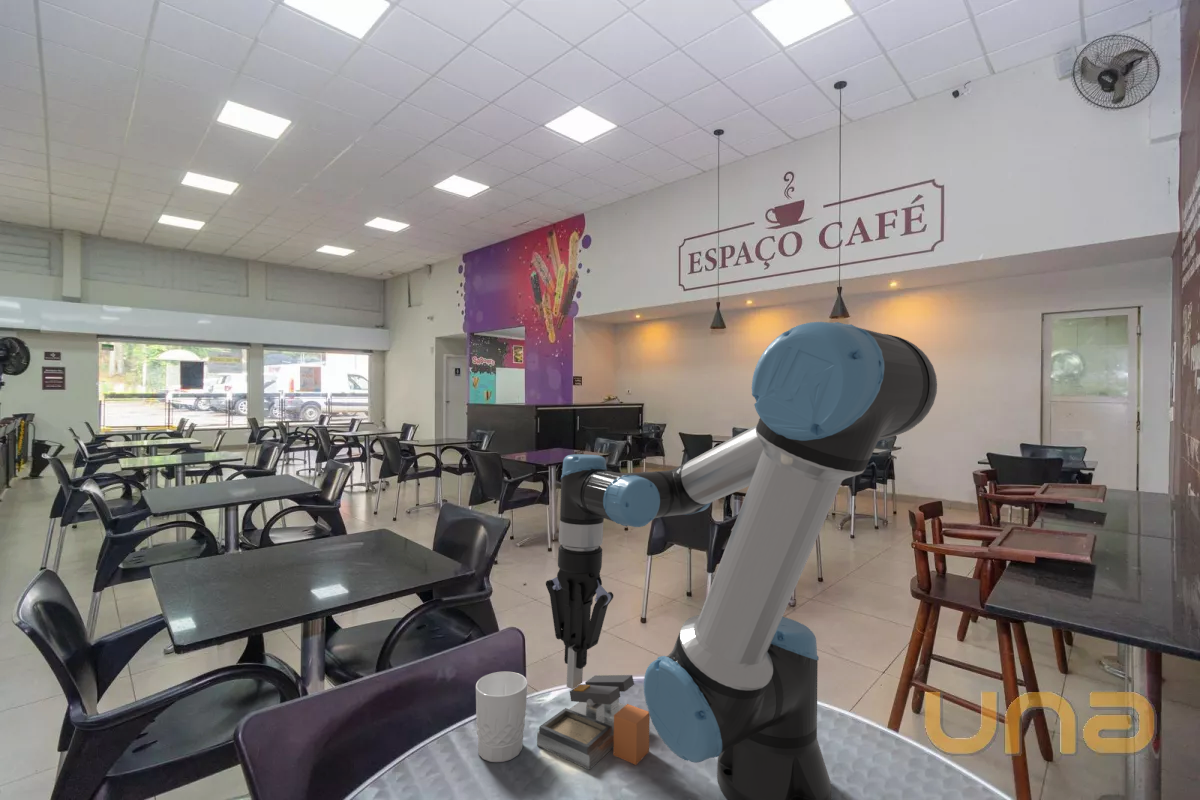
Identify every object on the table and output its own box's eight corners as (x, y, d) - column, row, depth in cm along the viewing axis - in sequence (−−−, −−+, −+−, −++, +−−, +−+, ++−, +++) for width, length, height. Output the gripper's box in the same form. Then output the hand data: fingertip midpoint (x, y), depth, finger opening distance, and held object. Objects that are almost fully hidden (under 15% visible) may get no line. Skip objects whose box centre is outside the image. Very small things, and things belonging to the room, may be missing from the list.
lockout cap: (649, 751, 82) (649, 711, 82) (636, 765, 79) (636, 723, 79) (626, 742, 84) (627, 703, 85) (613, 755, 81) (614, 715, 81)
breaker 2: (635, 687, 91) (632, 674, 91) (625, 695, 88) (622, 682, 88) (598, 687, 95) (595, 675, 95) (587, 695, 92) (584, 682, 92)
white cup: (515, 769, 77) (516, 699, 78) (465, 761, 79) (466, 692, 79) (532, 737, 85) (534, 674, 85) (486, 731, 87) (488, 668, 87)
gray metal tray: (640, 722, 90) (640, 697, 90) (589, 769, 77) (589, 740, 78) (591, 704, 95) (592, 680, 96) (537, 745, 83) (537, 717, 83)
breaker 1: (621, 699, 87) (619, 685, 87) (610, 709, 84) (607, 693, 84) (583, 697, 91) (580, 682, 92) (571, 705, 88) (568, 690, 89)
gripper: (624, 548, 90) (618, 688, 90) (564, 535, 97) (558, 665, 97) (599, 556, 84) (592, 707, 84) (537, 542, 91) (531, 681, 91)
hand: (574, 684), depth 90 cm, fingers closed
